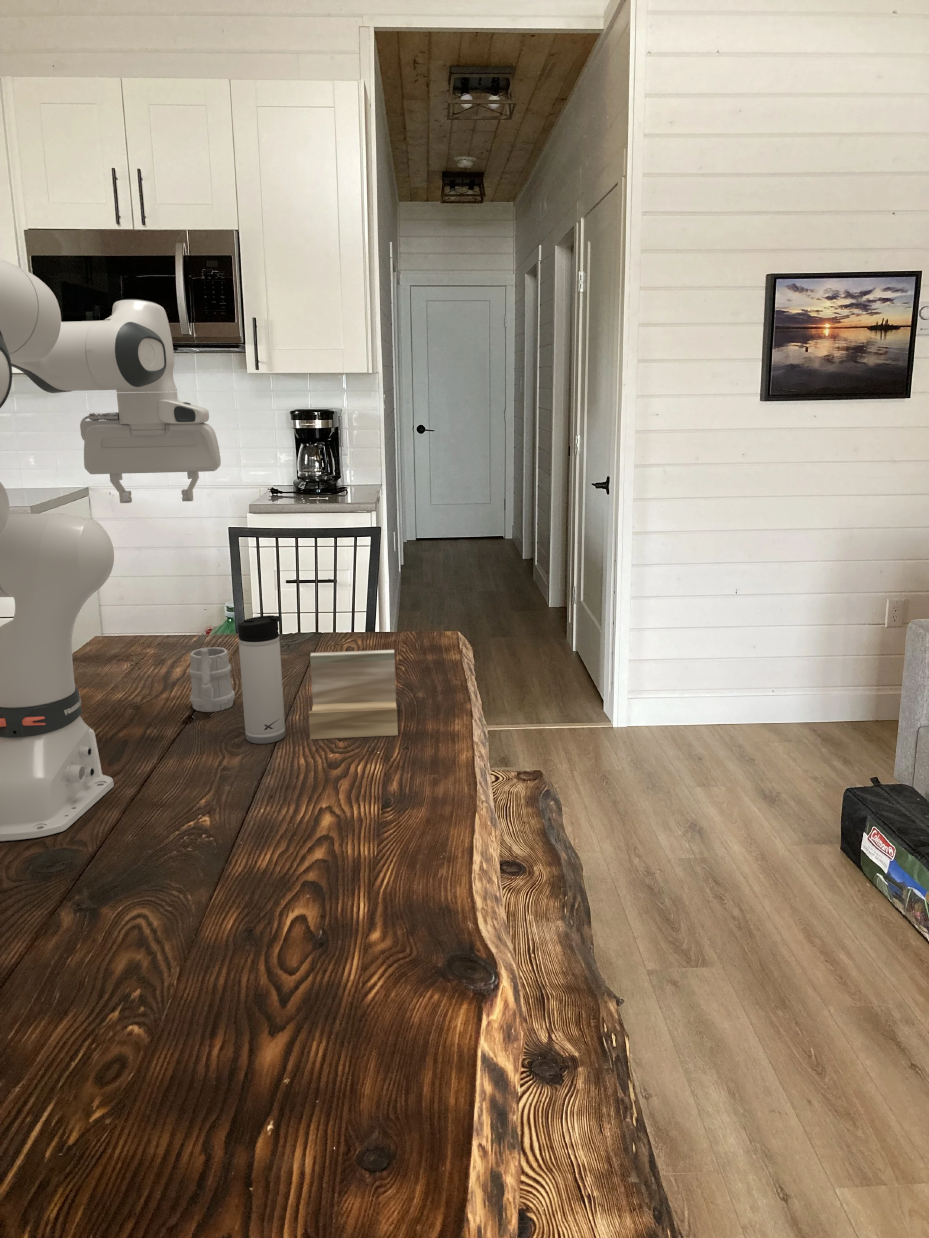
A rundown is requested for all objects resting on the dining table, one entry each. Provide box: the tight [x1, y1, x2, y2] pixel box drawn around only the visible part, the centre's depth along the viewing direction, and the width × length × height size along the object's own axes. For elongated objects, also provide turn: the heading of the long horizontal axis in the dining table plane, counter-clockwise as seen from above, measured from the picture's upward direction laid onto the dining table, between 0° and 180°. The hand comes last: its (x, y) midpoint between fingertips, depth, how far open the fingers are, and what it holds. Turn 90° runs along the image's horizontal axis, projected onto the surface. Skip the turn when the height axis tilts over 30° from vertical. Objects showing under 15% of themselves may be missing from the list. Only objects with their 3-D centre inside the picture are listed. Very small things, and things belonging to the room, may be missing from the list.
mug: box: [188, 646, 236, 713], centre depth 164 cm, size 8×12×12 cm, turn 9°
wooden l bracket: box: [308, 649, 399, 740], centre depth 156 cm, size 12×14×11 cm
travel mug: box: [237, 614, 286, 745], centre depth 149 cm, size 6×7×20 cm
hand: (157, 502), depth 148 cm, fingers open, 8 cm apart
